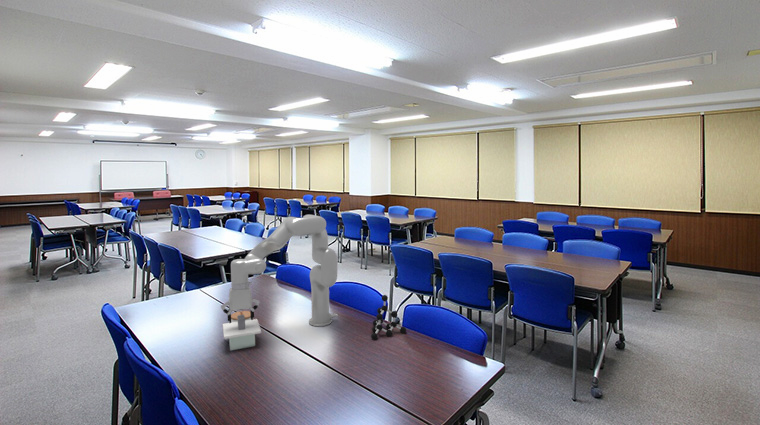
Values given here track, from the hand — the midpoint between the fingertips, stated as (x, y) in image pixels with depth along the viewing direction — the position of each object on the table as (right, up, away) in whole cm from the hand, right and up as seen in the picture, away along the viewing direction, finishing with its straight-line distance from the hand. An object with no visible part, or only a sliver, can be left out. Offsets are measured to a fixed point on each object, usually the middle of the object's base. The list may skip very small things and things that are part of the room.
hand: (241, 320), depth 177 cm
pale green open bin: (0, -11, +1) cm, 11 cm away
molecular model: (+67, -11, +13) cm, 69 cm away
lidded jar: (-6, -10, +18) cm, 21 cm away
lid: (0, -4, 0) cm, 4 cm away
